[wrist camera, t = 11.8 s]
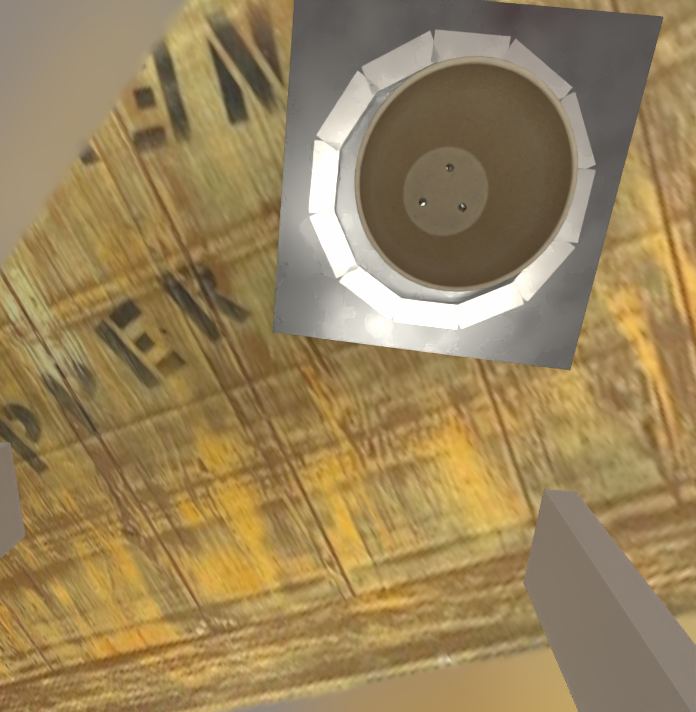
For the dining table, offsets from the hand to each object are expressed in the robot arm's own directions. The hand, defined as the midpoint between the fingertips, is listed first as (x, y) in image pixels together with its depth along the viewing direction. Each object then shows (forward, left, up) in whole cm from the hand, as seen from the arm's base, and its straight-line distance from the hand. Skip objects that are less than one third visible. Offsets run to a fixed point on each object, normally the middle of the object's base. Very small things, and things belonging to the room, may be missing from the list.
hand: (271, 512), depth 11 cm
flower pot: (+5, +10, -20) cm, 23 cm away
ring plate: (+5, +10, -21) cm, 23 cm away
